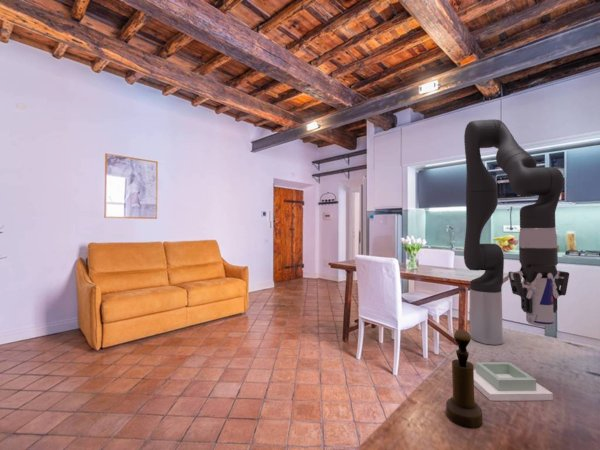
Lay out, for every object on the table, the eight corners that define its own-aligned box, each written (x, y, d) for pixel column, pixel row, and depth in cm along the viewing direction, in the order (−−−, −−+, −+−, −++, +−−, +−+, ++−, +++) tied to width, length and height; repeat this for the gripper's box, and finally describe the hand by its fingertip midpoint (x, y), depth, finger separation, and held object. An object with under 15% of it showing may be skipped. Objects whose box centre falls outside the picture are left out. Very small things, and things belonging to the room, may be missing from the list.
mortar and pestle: (450, 403, 64) (448, 322, 64) (484, 415, 60) (482, 329, 60) (442, 419, 59) (441, 331, 59) (479, 433, 55) (477, 338, 55)
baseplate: (463, 375, 76) (462, 360, 76) (516, 375, 76) (516, 359, 76) (490, 400, 65) (490, 383, 65) (552, 400, 65) (552, 382, 65)
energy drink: (559, 327, 70) (558, 278, 70) (537, 327, 70) (536, 278, 70) (541, 320, 76) (540, 274, 76) (521, 320, 76) (520, 274, 76)
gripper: (552, 244, 77) (554, 307, 77) (499, 245, 77) (500, 308, 77) (580, 246, 69) (581, 316, 69) (520, 247, 69) (522, 317, 69)
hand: (539, 311), depth 73 cm, fingers closed on energy drink, 5 cm apart
